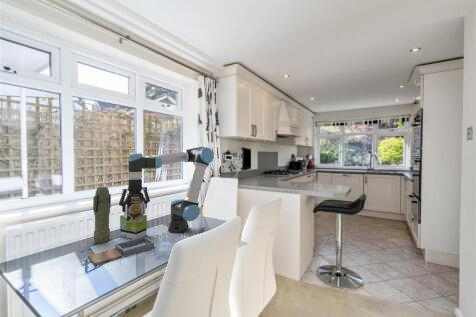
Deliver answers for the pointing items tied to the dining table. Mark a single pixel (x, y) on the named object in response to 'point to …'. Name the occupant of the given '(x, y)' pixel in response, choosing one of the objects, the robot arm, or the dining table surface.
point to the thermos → (101, 214)
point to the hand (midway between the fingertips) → (134, 215)
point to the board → (104, 256)
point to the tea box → (133, 228)
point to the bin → (120, 247)
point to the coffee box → (135, 208)
